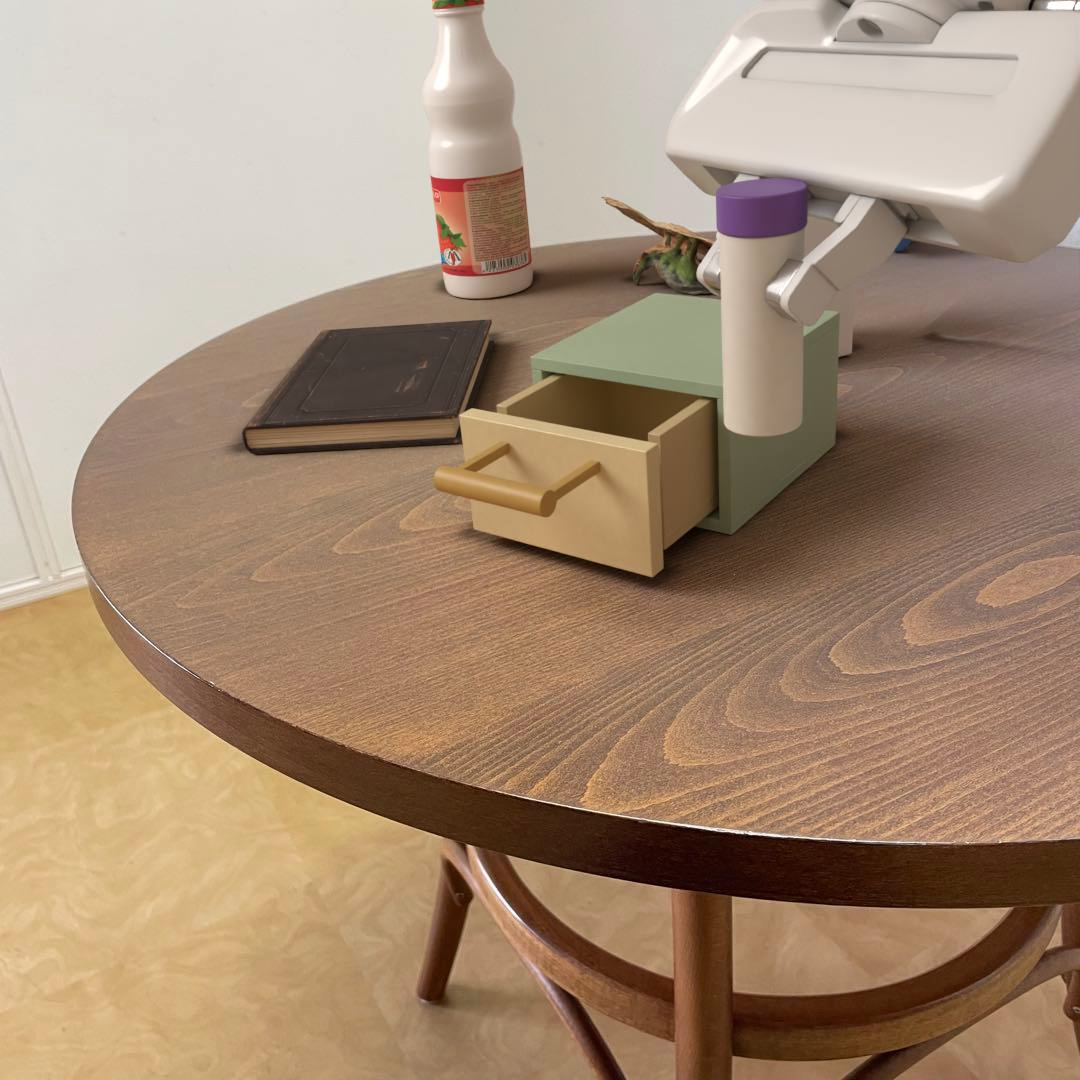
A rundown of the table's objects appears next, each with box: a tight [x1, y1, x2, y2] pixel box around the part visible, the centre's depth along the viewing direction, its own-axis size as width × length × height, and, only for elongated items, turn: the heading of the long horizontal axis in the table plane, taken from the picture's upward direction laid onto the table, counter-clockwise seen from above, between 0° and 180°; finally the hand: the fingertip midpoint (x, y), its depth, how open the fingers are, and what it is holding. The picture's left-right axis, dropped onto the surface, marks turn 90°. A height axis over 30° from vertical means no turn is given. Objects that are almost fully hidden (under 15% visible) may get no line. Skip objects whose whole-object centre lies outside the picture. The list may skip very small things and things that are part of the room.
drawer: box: [433, 373, 719, 578], centre depth 64 cm, size 19×12×7 cm, turn 143°
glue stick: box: [715, 178, 808, 437], centre depth 45 cm, size 3×3×10 cm
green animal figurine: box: [601, 196, 716, 296], centre depth 112 cm, size 18×14×8 cm
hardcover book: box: [241, 318, 495, 455], centre depth 92 cm, size 16×23×2 cm
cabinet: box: [529, 292, 840, 536], centre depth 72 cm, size 15×14×9 cm
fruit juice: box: [421, 0, 534, 300], centre depth 112 cm, size 9×9×28 cm
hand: (748, 302), depth 44 cm, fingers closed on glue stick, 3 cm apart
